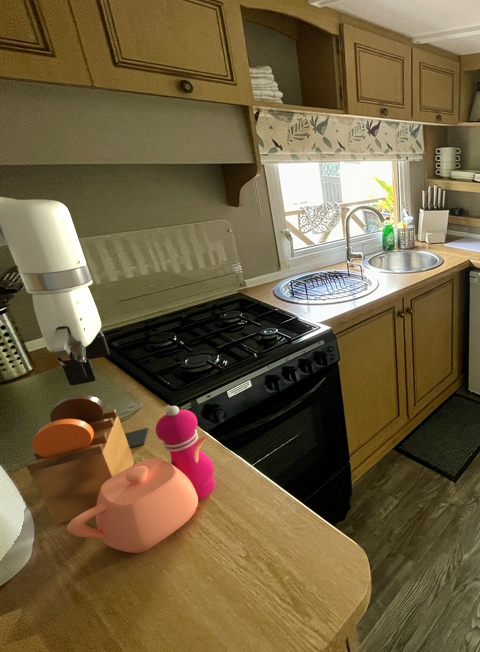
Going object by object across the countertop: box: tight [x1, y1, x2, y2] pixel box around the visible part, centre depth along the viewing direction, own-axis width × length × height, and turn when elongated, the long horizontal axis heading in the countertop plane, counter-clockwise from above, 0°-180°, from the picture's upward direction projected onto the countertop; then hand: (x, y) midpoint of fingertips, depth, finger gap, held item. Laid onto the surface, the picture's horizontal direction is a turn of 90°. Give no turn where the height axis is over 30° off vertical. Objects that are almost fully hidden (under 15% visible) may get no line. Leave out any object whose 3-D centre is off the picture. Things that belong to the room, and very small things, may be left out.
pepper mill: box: [155, 405, 216, 502], centre depth 69 cm, size 7×7×20 cm
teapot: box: [66, 436, 207, 554], centre depth 64 cm, size 13×20×12 cm, turn 152°
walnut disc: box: [49, 394, 106, 423], centre depth 70 cm, size 7×2×7 cm, turn 122°
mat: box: [124, 427, 149, 449], centre depth 84 cm, size 6×6×1 cm
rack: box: [26, 408, 135, 526], centre depth 70 cm, size 9×12×14 cm
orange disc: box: [31, 419, 94, 458], centre depth 63 cm, size 7×2×7 cm, turn 122°
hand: (91, 369), depth 66 cm, fingers open, 9 cm apart
